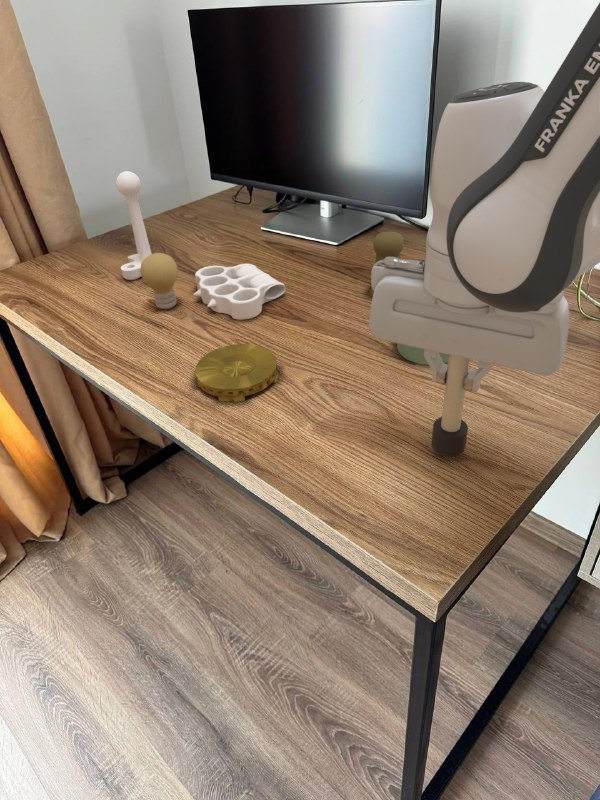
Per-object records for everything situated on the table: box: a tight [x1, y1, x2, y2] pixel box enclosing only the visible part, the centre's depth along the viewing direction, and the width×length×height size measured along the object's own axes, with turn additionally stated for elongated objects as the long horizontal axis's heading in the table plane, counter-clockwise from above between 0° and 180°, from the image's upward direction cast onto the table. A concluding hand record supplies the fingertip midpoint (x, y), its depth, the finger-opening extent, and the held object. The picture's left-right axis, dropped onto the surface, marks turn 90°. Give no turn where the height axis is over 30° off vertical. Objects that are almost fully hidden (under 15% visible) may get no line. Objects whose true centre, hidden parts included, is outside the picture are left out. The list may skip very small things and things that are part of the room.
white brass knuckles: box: [192, 263, 287, 321], centre depth 108 cm, size 3×18×15 cm
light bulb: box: [140, 252, 179, 310], centre depth 104 cm, size 6×6×10 cm
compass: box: [194, 343, 279, 403], centre depth 87 cm, size 12×12×2 cm
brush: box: [430, 355, 470, 457], centre depth 66 cm, size 4×4×15 cm
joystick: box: [115, 170, 153, 281], centre depth 113 cm, size 11×8×20 cm
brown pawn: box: [369, 231, 405, 298], centre depth 103 cm, size 6×6×11 cm
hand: (456, 384), depth 65 cm, fingers closed on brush, 2 cm apart
